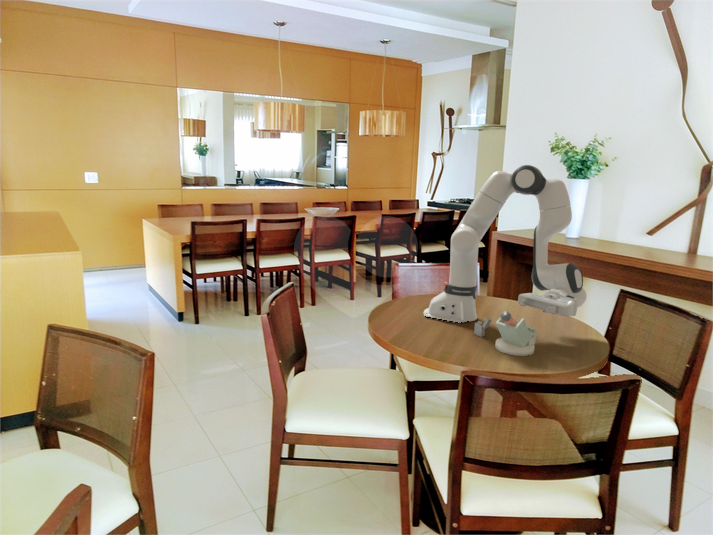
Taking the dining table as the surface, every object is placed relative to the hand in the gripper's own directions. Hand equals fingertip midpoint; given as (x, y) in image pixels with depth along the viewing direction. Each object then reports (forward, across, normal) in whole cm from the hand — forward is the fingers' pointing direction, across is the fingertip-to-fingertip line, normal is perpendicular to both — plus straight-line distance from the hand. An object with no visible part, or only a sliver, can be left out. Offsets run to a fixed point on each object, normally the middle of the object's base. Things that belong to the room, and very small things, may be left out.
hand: (532, 306), depth 171 cm
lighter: (+8, -15, +14) cm, 22 cm away
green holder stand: (+8, 0, +14) cm, 16 cm away
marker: (+7, 0, +9) cm, 11 cm away
